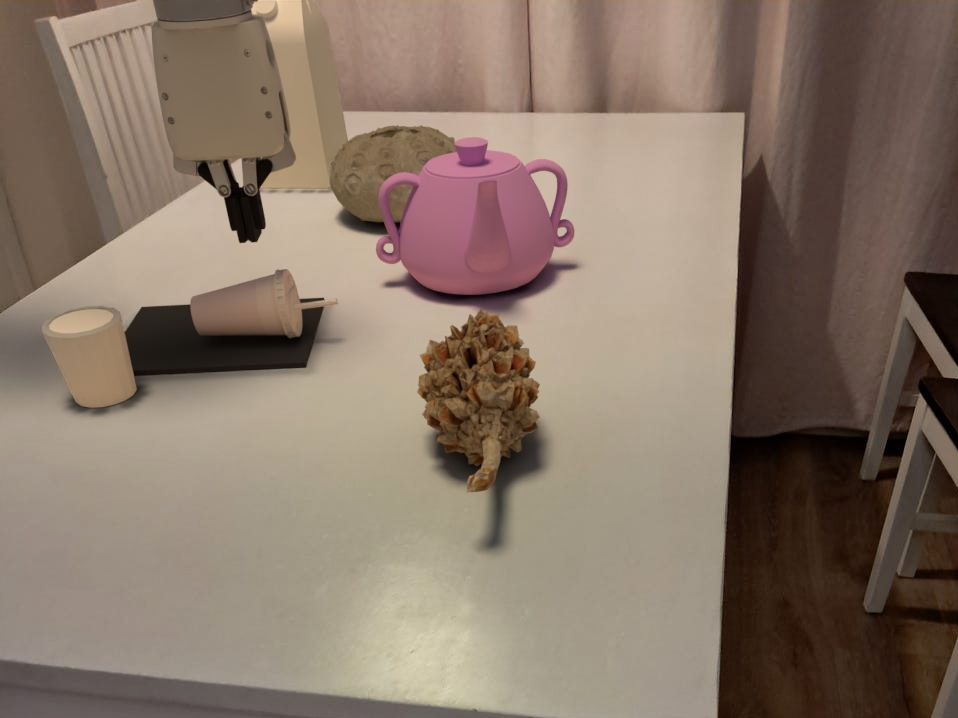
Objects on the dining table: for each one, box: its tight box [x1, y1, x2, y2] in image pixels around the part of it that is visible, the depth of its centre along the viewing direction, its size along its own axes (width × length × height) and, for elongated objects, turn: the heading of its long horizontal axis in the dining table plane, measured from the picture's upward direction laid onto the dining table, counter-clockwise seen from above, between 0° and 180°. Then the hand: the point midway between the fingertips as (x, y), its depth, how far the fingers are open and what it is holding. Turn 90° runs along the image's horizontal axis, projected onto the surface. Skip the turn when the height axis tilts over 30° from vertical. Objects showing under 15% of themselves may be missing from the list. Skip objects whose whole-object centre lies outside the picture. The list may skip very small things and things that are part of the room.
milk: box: [251, 0, 349, 189], centre depth 128 cm, size 12×12×26 cm
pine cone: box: [416, 308, 541, 493], centre depth 69 cm, size 22×10×10 cm, turn 6°
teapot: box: [375, 136, 575, 296], centre depth 97 cm, size 22×22×14 cm
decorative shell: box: [330, 124, 457, 224], centre depth 118 cm, size 18×18×10 cm
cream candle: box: [41, 305, 138, 409], centre depth 84 cm, size 7×7×7 cm
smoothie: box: [189, 268, 339, 338], centre depth 90 cm, size 6×6×14 cm
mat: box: [124, 297, 325, 376], centre depth 94 cm, size 20×16×1 cm
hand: (250, 237), depth 86 cm, fingers closed
